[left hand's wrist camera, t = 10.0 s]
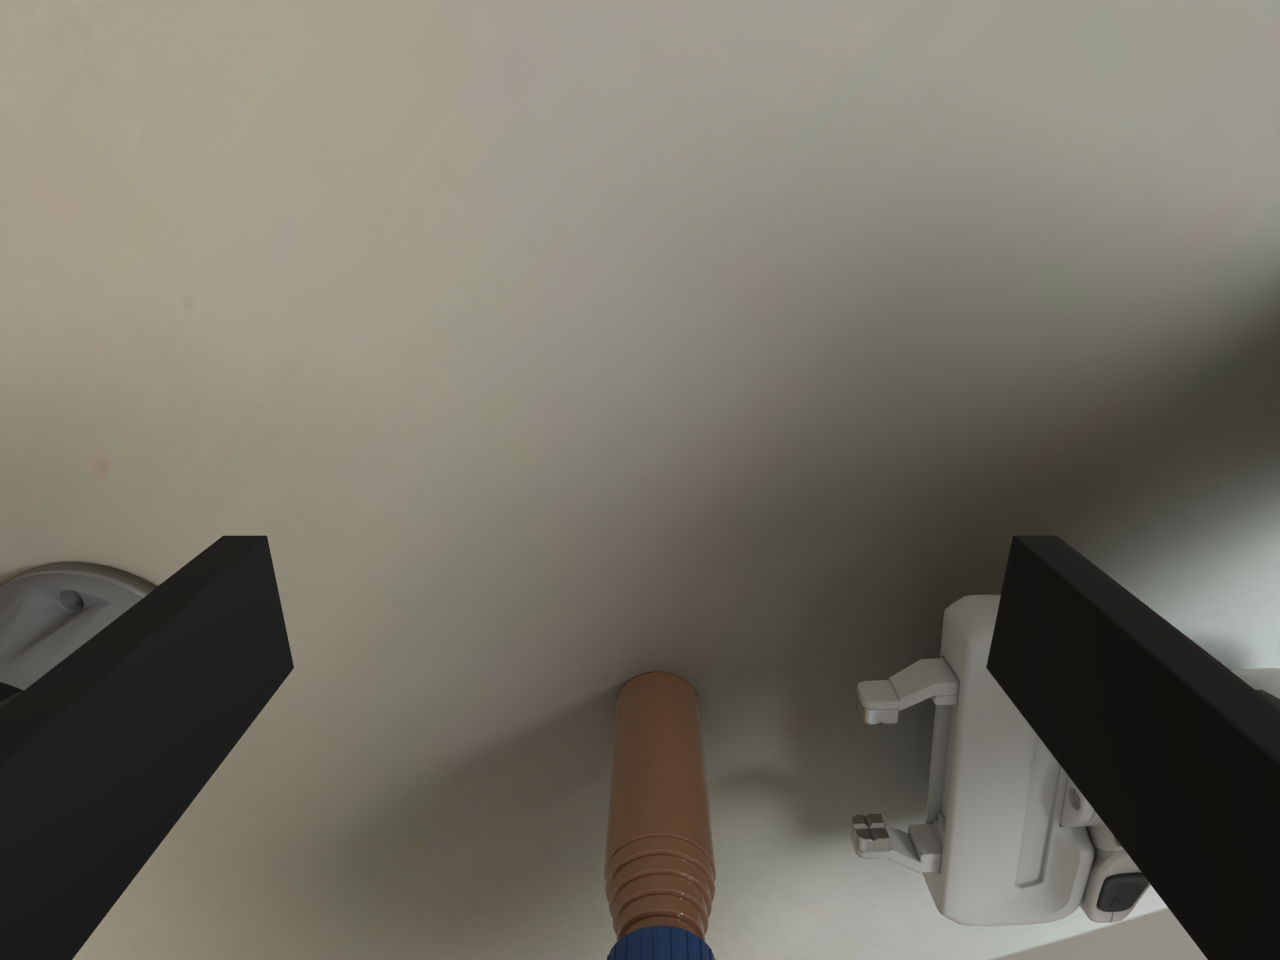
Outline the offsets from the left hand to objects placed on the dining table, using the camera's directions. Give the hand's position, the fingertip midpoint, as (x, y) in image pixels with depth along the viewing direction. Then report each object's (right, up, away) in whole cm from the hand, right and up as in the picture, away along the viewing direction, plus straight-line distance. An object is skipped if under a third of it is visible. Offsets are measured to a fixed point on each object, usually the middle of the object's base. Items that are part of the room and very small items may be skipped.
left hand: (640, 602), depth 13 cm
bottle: (+1, -12, +33) cm, 35 cm away
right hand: (+12, -14, +27) cm, 32 cm away
